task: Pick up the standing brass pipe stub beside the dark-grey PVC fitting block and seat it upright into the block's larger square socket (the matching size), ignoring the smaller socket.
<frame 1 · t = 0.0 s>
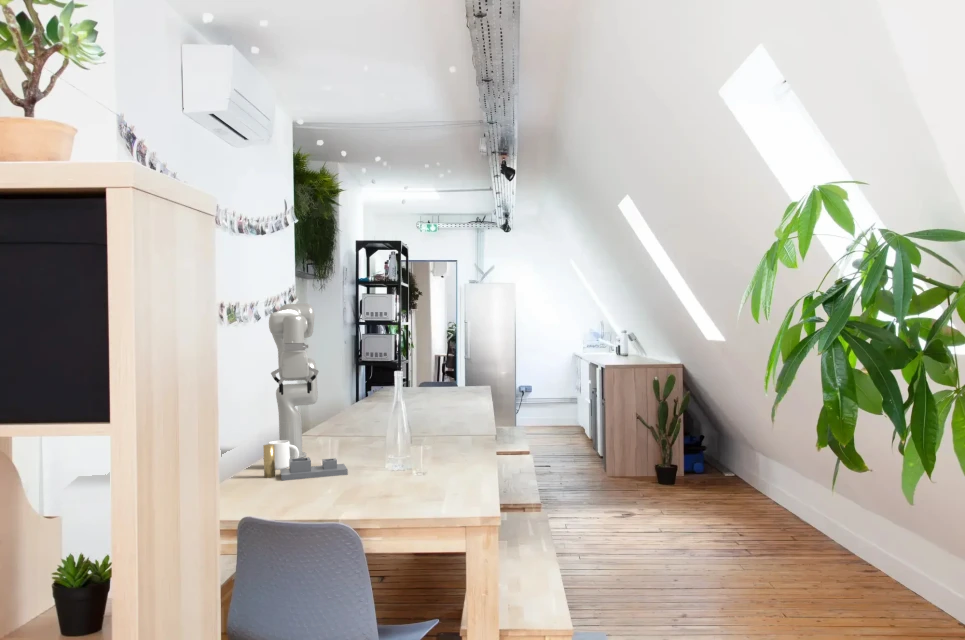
hand: (295, 393, 273), 31 cm above the table, fingers open, 9 cm apart
fitting block: (313, 474, 276), on the table
pipe stub: (269, 476, 274), on the table
mug: (284, 467, 292), on the table
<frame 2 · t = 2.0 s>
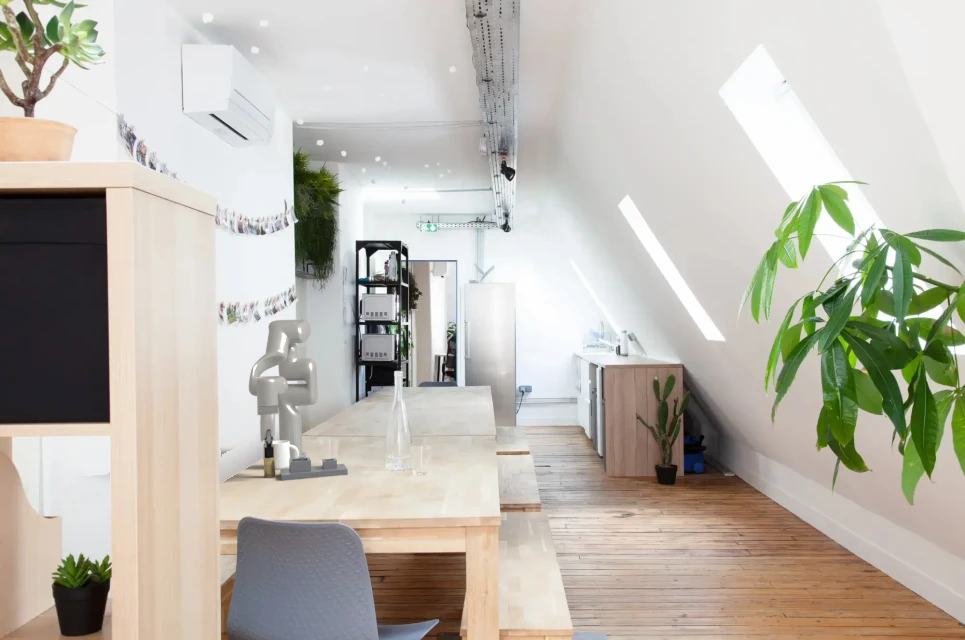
hand: (268, 456, 274), 8 cm above the table, fingers open, 9 cm apart
nothing on the table moved.
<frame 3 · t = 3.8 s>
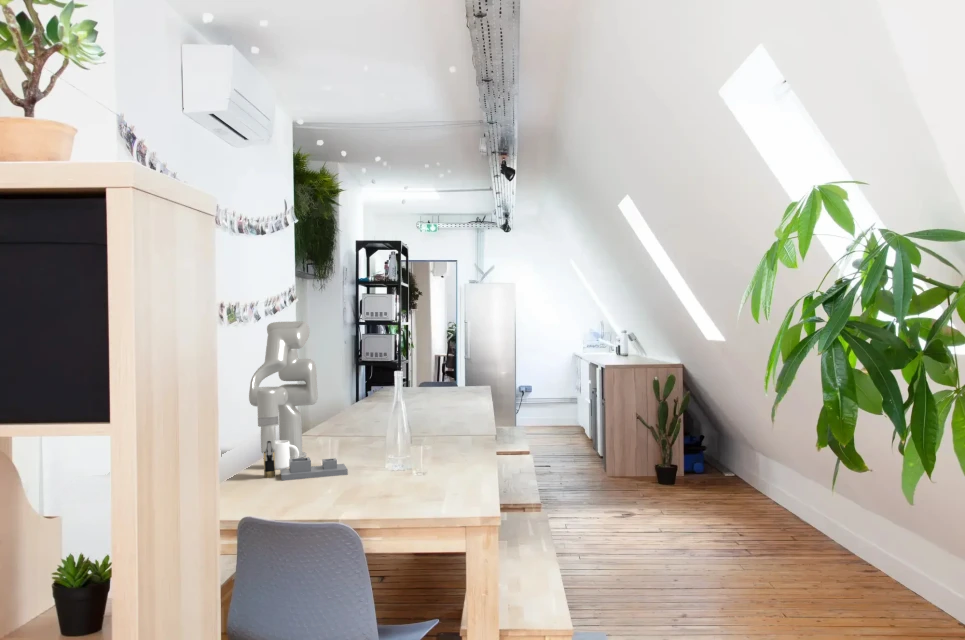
hand: (269, 469, 274), 3 cm above the table, fingers closed on pipe stub, 4 cm apart
pipe stub: (269, 476, 274), on the table, touching gripper
everything else where it was.
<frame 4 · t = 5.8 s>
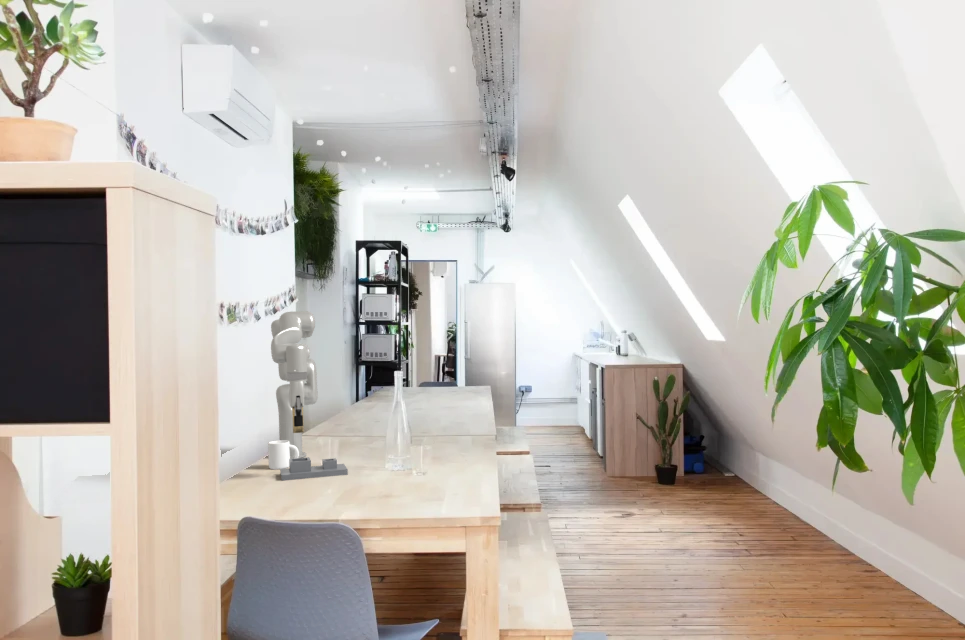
hand: (298, 425, 275), 19 cm above the table, fingers closed on pipe stub, 4 cm apart
pipe stub: (298, 432, 275), point 16 cm above the table, touching gripper
everything else where it was.
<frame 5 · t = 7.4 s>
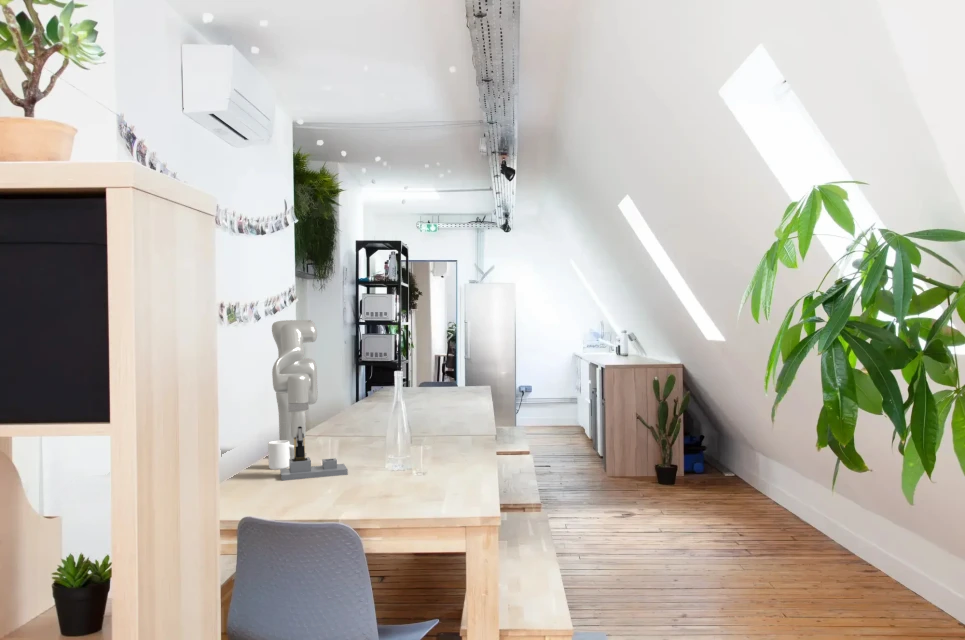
hand: (299, 455, 275), 8 cm above the table, fingers closed on pipe stub, 4 cm apart
pipe stub: (299, 462, 275), point 5 cm above the table, touching gripper
everything else where it was.
when the fingers open (7 cm above the table, at t = 8.3 s): pipe stub drops 2 cm, resting on fitting block.
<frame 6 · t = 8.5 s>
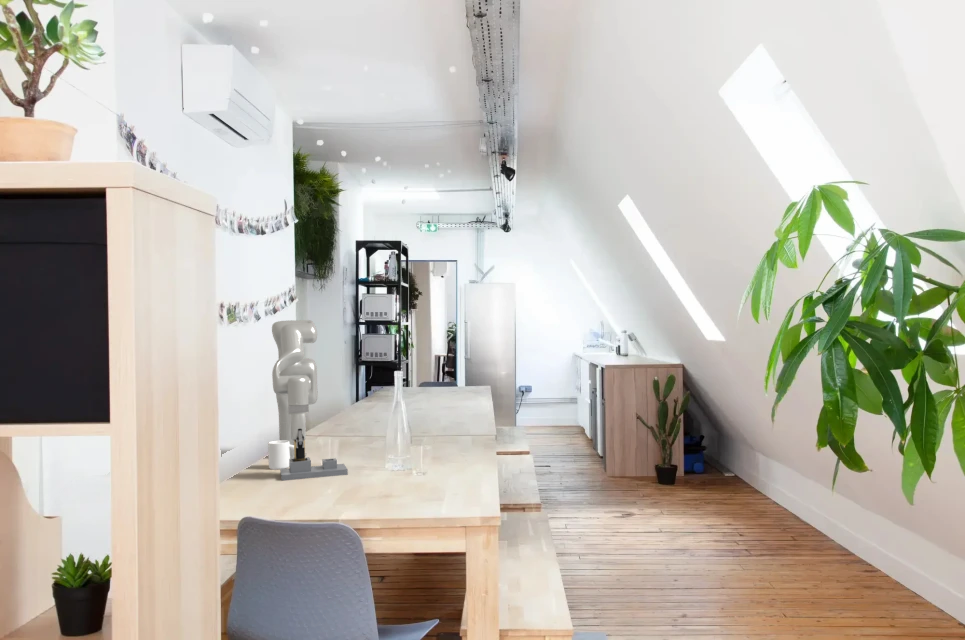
hand: (299, 456, 275), 7 cm above the table, fingers open, 6 cm apart
pipe stub: (300, 470, 275), point 2 cm above the table, touching fitting block
everything else where it was.
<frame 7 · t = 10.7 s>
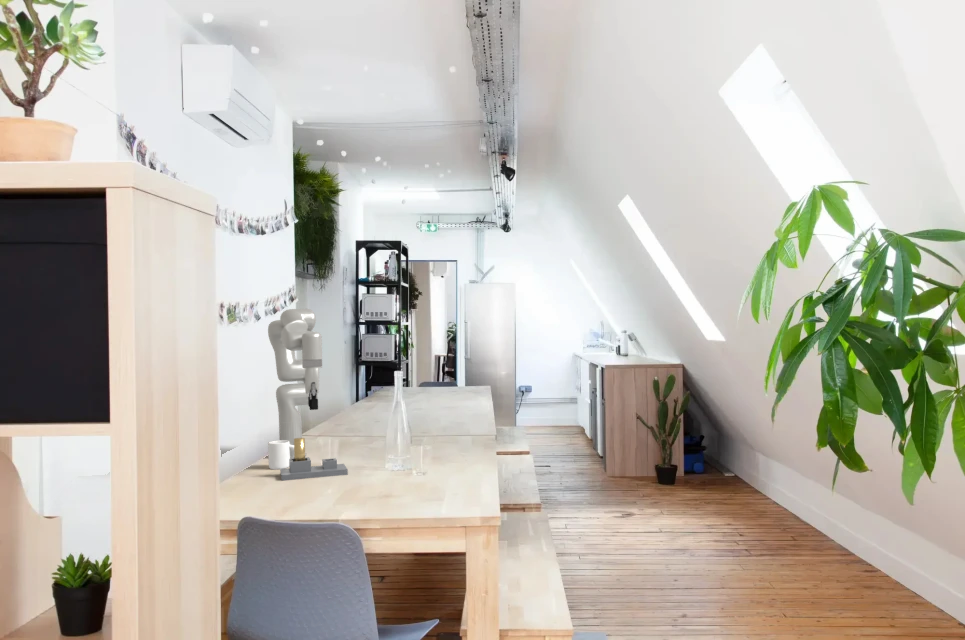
hand: (313, 407, 283), 25 cm above the table, fingers open, 9 cm apart
nothing on the table moved.
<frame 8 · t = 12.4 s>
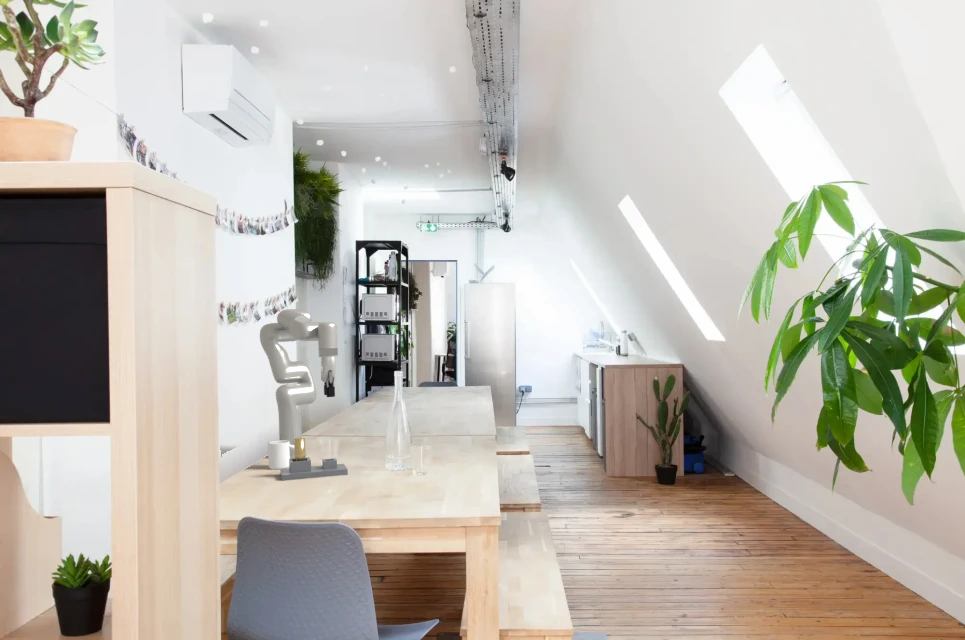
hand: (329, 395, 291), 28 cm above the table, fingers open, 9 cm apart
nothing on the table moved.
at the end: pipe stub 0.2 cm from the target spot on the fitting block, point 2.0 cm above the fitting block's base; pipe stub tilted 1°; the gripper is holding nothing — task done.
